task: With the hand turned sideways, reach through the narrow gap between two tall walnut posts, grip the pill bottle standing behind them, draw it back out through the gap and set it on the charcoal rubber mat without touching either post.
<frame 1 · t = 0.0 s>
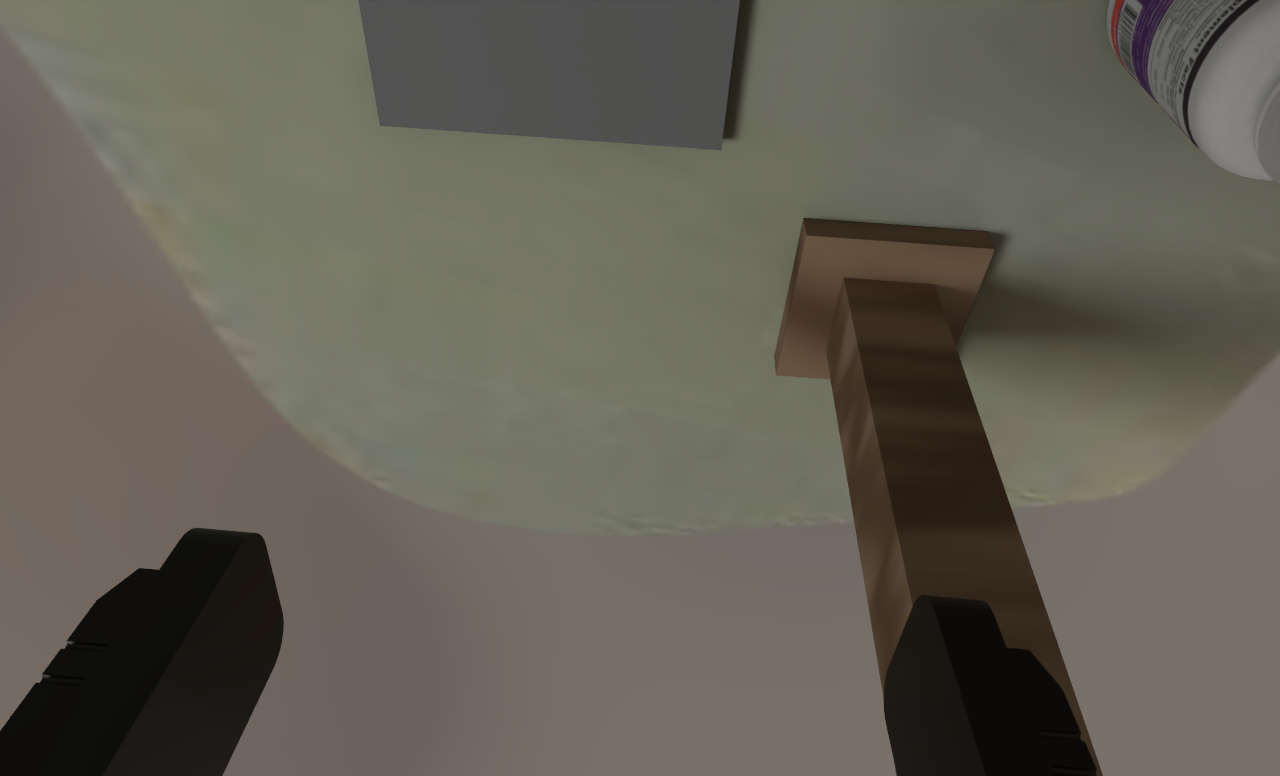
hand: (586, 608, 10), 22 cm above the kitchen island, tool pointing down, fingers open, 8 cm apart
walnut post 1: (873, 298, 34), on the kitchen island
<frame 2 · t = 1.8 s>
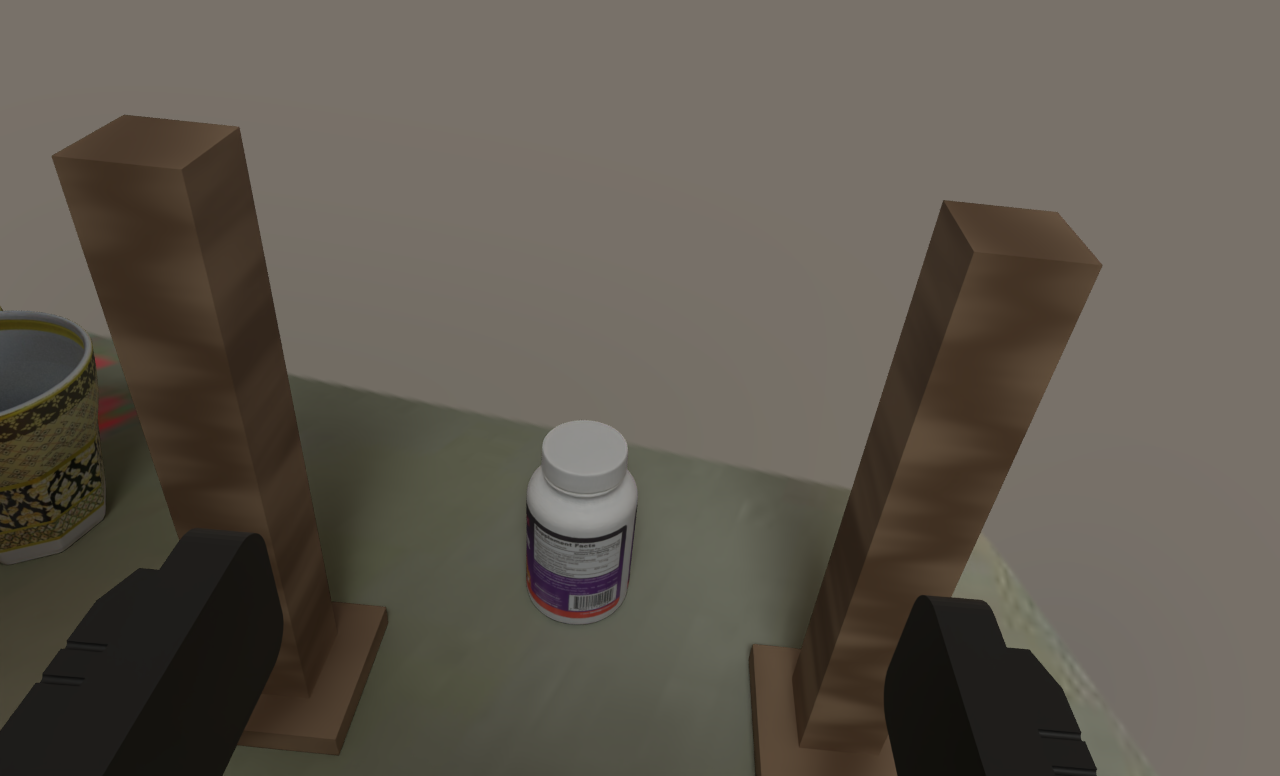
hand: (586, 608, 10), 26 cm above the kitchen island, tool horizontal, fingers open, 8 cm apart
walnut post 2: (289, 676, 39), on the kitchen island
walnut post 1: (827, 730, 39), on the kitchen island
pill bottle: (576, 589, 45), on the kitchen island
ceramic cup: (41, 502, 46), on the kitchen island
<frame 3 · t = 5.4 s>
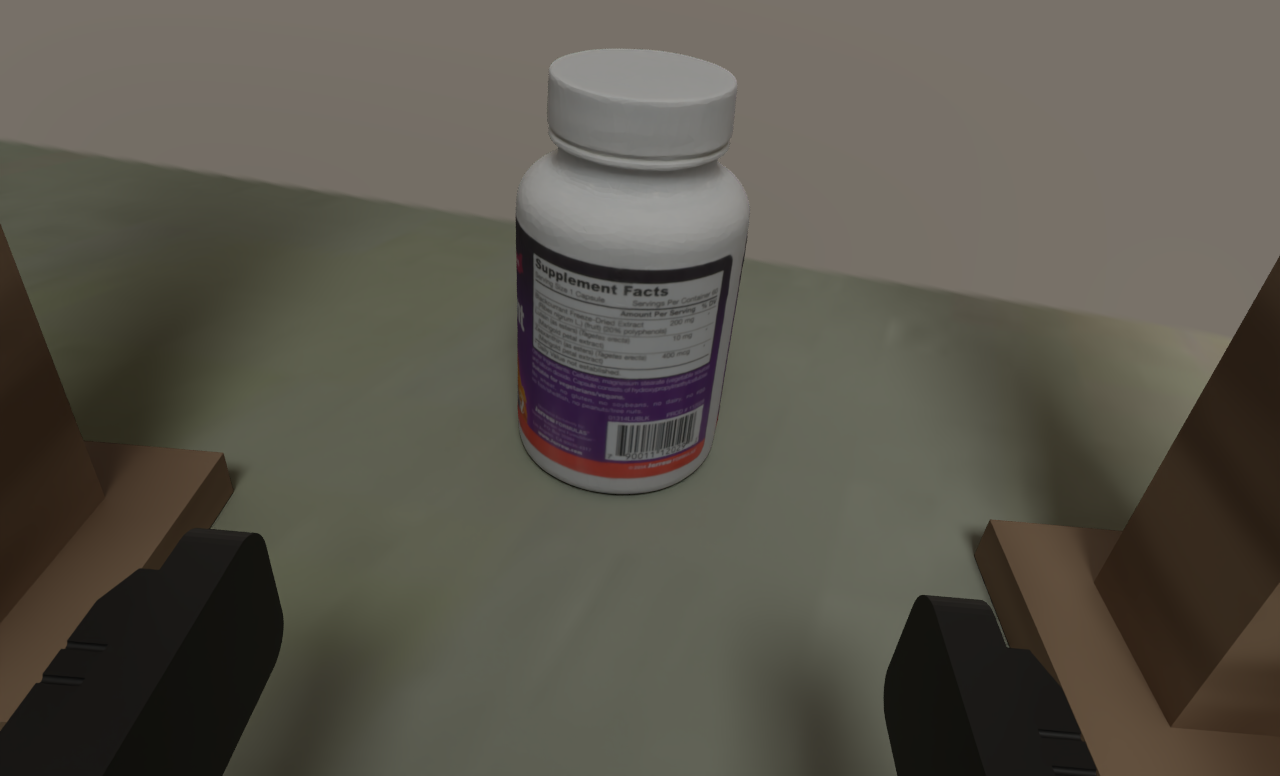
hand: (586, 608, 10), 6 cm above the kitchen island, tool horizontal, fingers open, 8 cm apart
walnut post 1: (1187, 692, 18), on the kitchen island
pill bottle: (614, 440, 23), on the kitchen island
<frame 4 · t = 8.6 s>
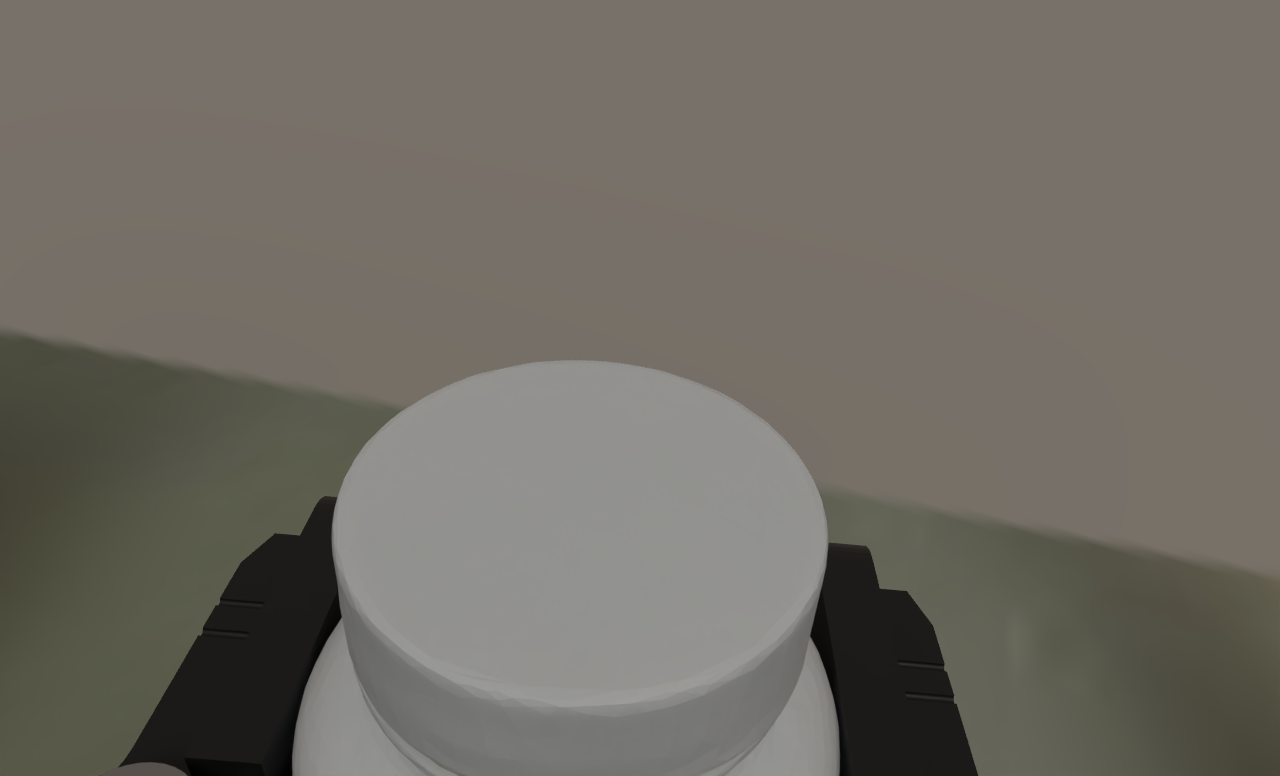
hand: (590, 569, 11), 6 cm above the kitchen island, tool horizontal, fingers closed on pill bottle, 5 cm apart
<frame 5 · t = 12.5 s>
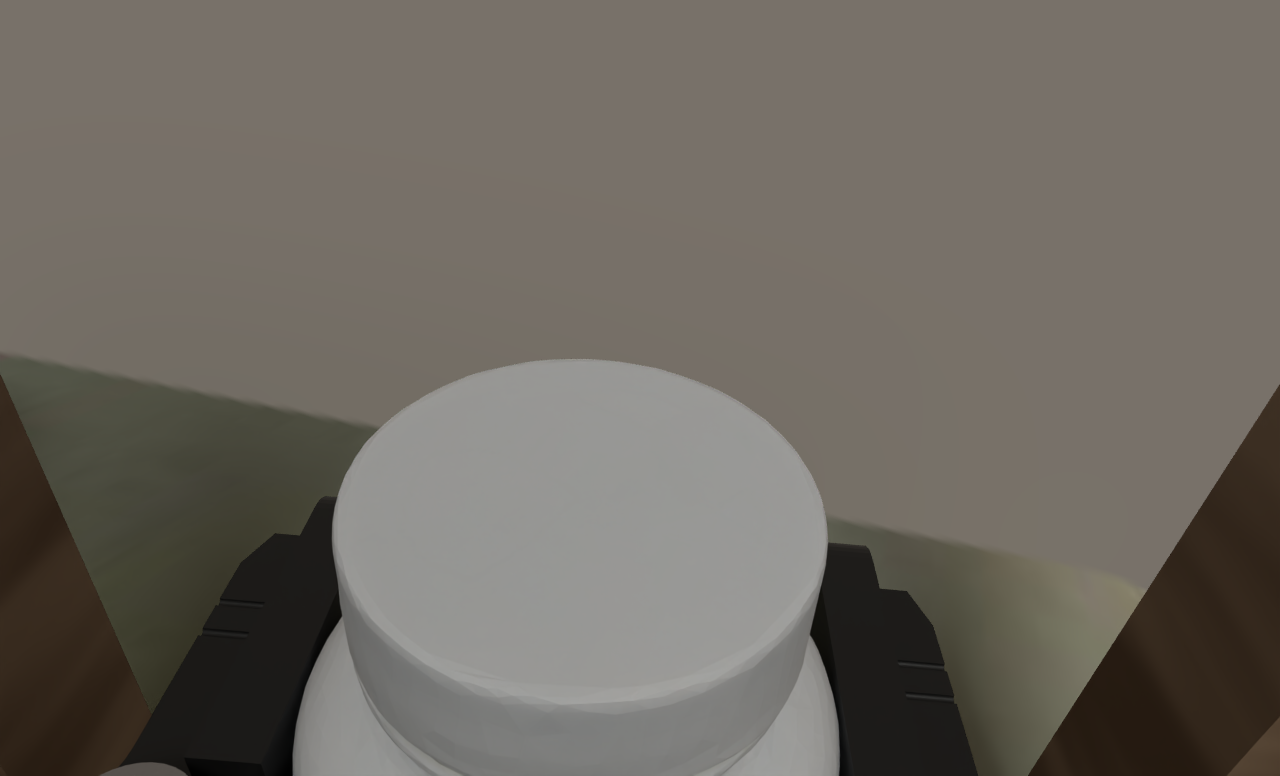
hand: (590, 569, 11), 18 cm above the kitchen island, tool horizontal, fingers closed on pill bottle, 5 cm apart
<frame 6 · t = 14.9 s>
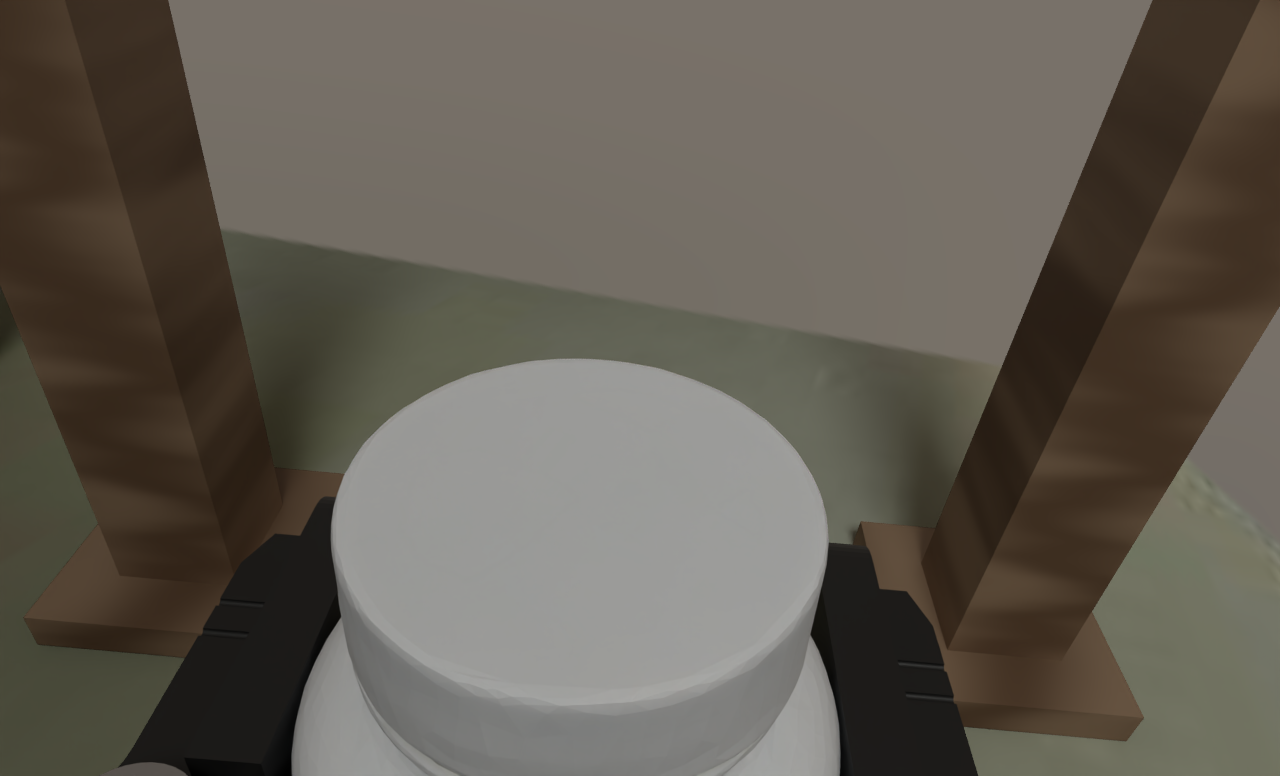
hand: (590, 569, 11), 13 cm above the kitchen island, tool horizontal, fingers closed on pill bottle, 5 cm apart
walnut post 2: (213, 564, 27), on the kitchen island
walnut post 1: (975, 633, 28), on the kitchen island
when the fingers open (8 cm above the kitchen island, at t = 16.7 s): pill bottle stays where it is, resting on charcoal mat.
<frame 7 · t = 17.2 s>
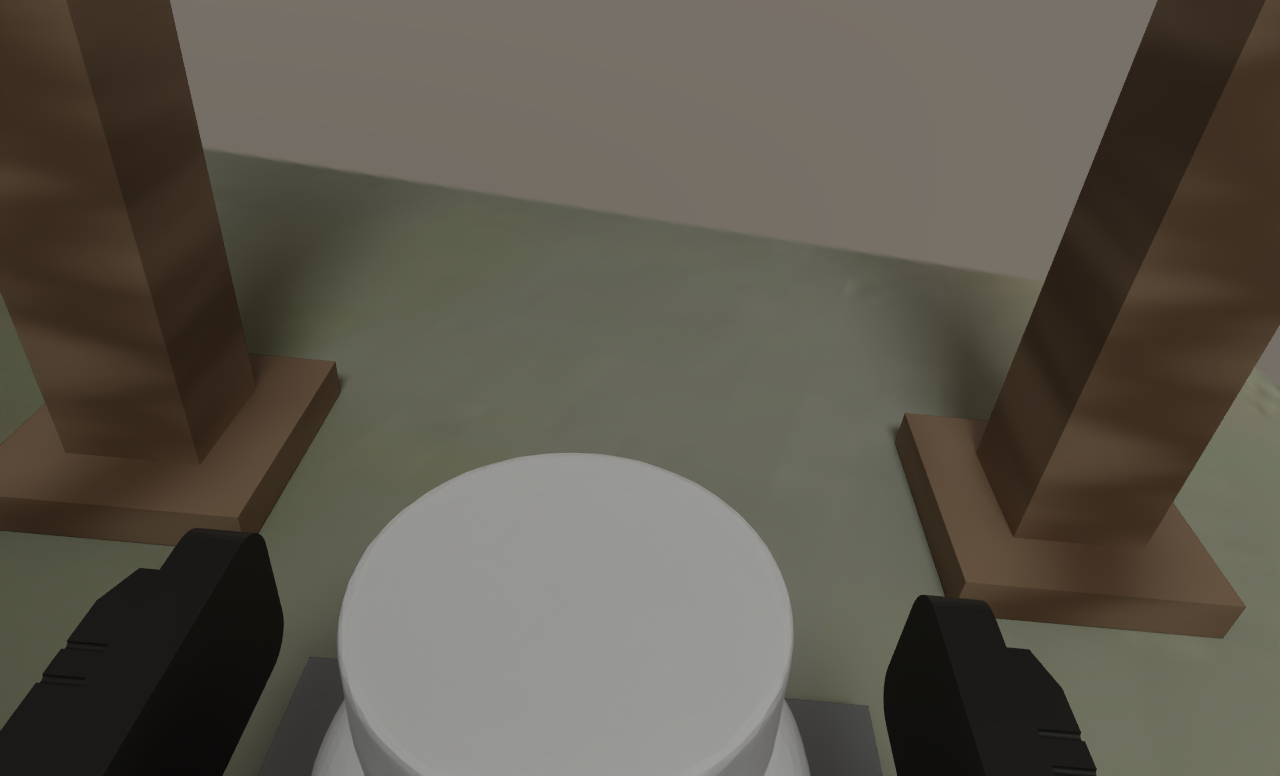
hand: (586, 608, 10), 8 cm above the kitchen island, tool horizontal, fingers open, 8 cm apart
walnut post 2: (176, 451, 24), on the kitchen island
walnut post 1: (1039, 529, 24), on the kitchen island
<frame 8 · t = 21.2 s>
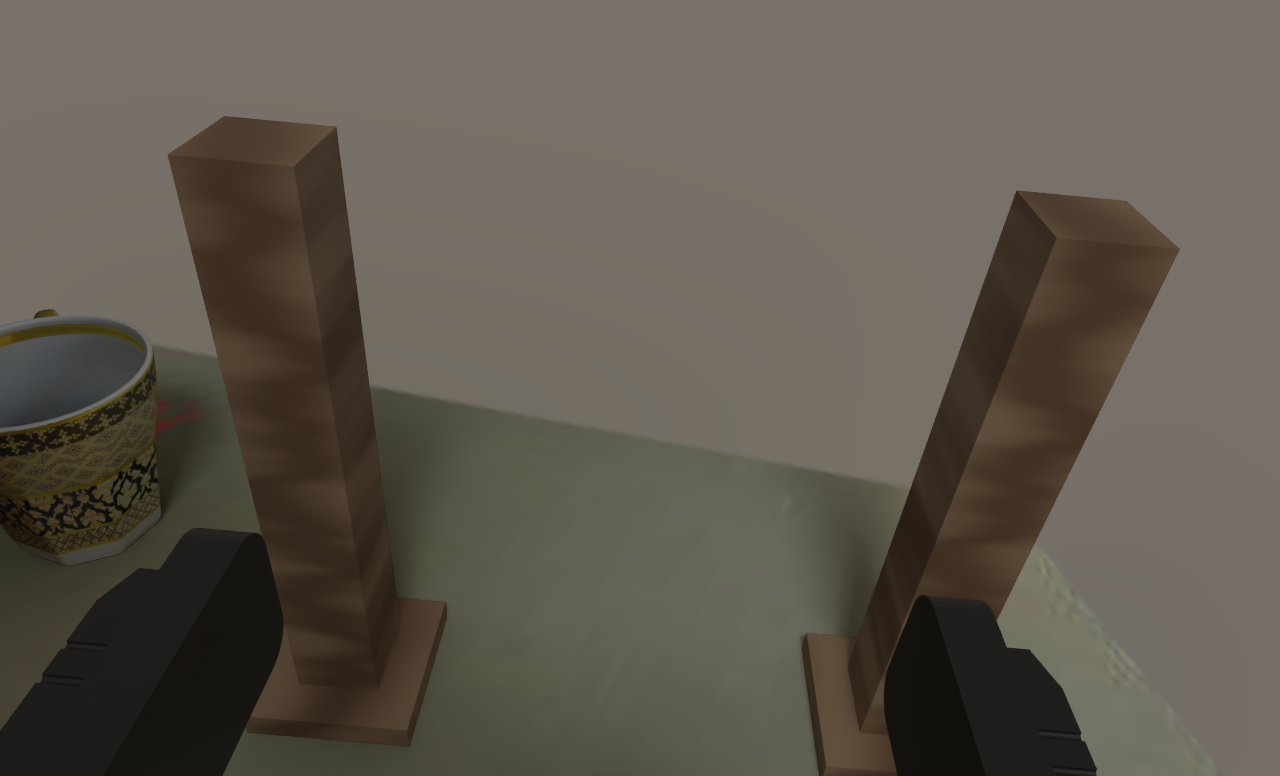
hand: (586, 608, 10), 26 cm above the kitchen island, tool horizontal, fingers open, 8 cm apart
walnut post 2: (354, 670, 39), on the kitchen island
walnut post 1: (884, 716, 39), on the kitchen island
ceramic cup: (96, 505, 47), on the kitchen island
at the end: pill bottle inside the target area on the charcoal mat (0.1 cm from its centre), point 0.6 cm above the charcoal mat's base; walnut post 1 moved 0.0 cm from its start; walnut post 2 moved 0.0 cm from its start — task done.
